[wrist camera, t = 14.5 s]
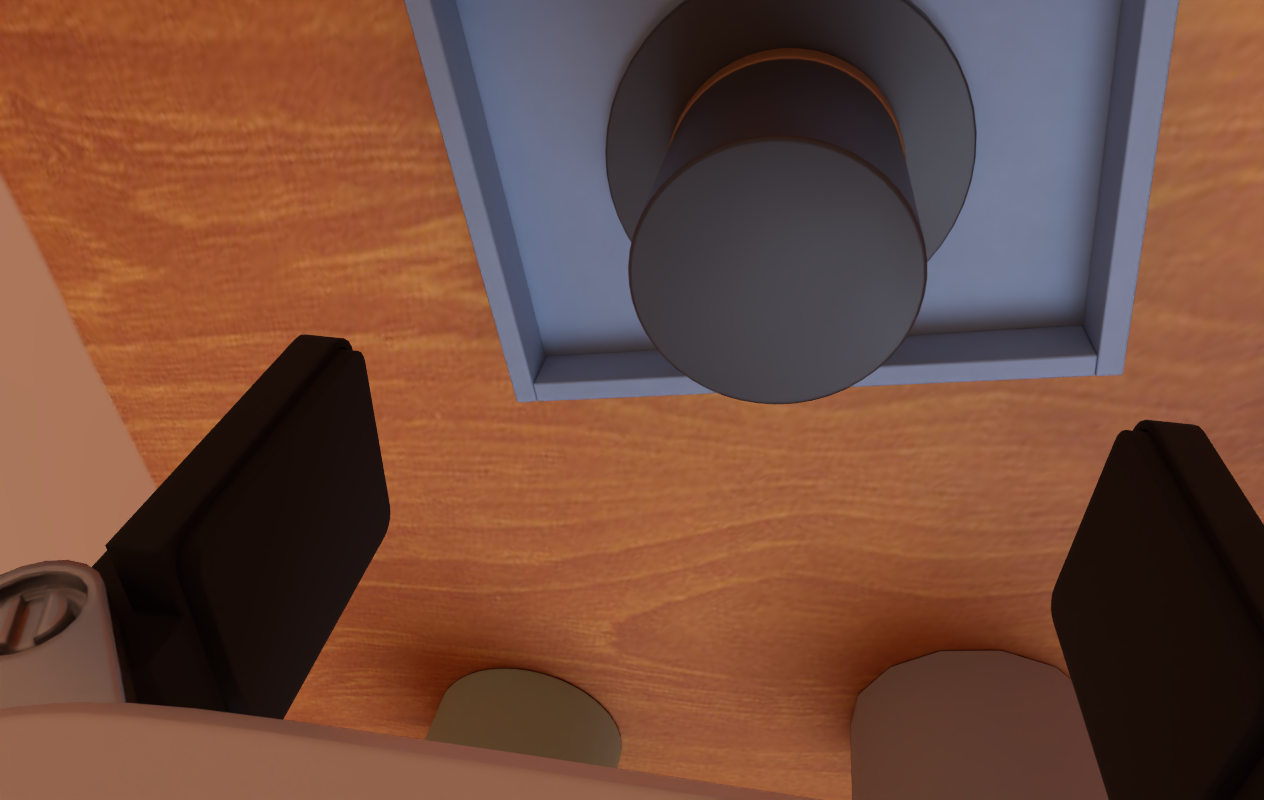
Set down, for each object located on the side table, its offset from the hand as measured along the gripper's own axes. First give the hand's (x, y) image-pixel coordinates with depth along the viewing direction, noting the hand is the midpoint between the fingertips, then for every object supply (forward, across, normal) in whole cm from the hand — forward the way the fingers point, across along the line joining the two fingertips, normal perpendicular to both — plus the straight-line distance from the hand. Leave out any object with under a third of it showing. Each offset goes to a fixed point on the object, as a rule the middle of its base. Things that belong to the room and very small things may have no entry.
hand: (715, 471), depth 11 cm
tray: (+12, -1, 0) cm, 13 cm away
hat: (+12, -1, 0) cm, 12 cm away
